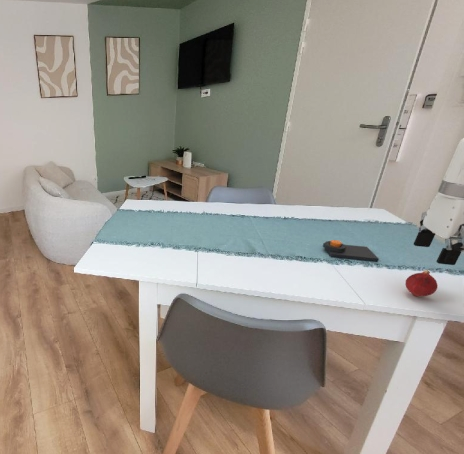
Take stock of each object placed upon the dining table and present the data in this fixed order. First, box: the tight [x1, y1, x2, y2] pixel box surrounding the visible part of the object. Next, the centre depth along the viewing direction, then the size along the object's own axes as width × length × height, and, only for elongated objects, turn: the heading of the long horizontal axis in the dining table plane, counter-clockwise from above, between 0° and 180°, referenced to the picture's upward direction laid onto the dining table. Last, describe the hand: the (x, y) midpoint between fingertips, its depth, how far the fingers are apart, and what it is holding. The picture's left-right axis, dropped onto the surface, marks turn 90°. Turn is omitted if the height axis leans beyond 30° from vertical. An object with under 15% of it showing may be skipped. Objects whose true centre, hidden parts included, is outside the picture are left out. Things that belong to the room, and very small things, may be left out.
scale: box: [322, 240, 379, 263], centre depth 102 cm, size 14×9×3 cm, turn 70°
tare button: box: [330, 239, 342, 247], centre depth 102 cm, size 3×3×2 cm
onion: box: [404, 269, 438, 298], centre depth 78 cm, size 6×6×8 cm
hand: (432, 254), depth 75 cm, fingers open, 9 cm apart
